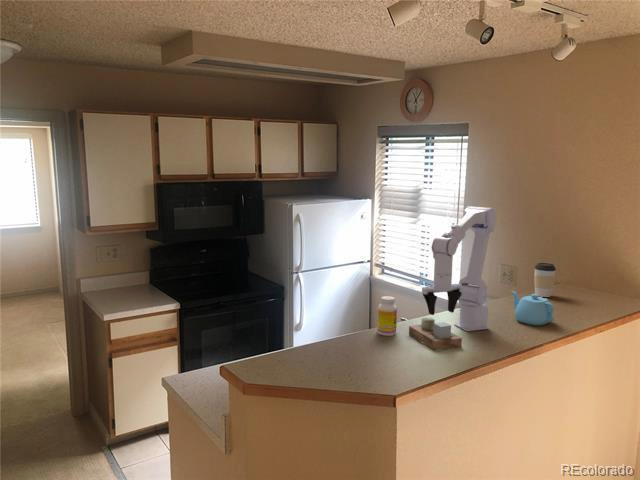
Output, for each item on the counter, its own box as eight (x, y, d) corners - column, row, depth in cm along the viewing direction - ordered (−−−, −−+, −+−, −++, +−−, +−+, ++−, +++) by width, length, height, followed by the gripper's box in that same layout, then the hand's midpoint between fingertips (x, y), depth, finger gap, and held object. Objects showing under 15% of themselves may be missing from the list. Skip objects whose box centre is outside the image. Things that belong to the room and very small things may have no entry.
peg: (443, 342, 171) (444, 321, 170) (450, 346, 167) (451, 325, 166) (432, 343, 169) (433, 323, 168) (439, 347, 166) (440, 326, 165)
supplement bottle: (395, 337, 175) (397, 300, 173) (376, 335, 176) (377, 299, 174) (396, 330, 182) (397, 295, 180) (377, 329, 183) (378, 294, 181)
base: (433, 331, 182) (434, 314, 181) (461, 346, 166) (462, 329, 165) (408, 334, 178) (409, 317, 177) (435, 350, 163) (435, 332, 162)
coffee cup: (534, 297, 228) (537, 265, 226) (530, 292, 237) (532, 261, 235) (556, 298, 227) (559, 265, 225) (550, 293, 236) (553, 262, 233)
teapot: (519, 286, 204) (563, 296, 190) (517, 312, 206) (561, 324, 191) (501, 291, 196) (546, 301, 182) (499, 318, 198) (544, 330, 184)
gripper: (454, 269, 174) (452, 307, 176) (417, 272, 169) (416, 311, 171) (467, 273, 168) (465, 313, 170) (429, 276, 163) (427, 317, 165)
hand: (441, 313), depth 170 cm, fingers open, 7 cm apart
